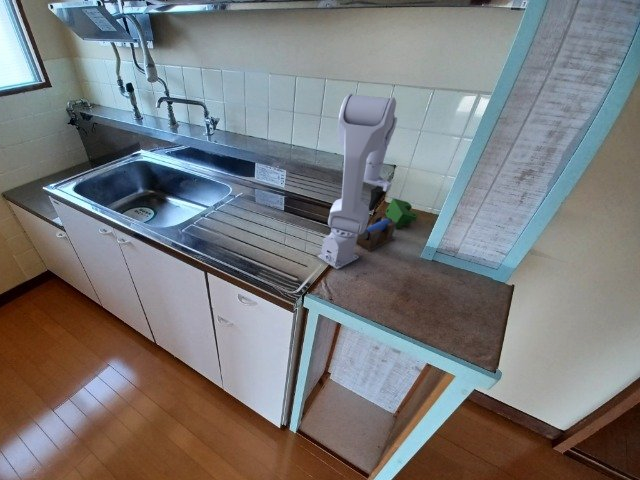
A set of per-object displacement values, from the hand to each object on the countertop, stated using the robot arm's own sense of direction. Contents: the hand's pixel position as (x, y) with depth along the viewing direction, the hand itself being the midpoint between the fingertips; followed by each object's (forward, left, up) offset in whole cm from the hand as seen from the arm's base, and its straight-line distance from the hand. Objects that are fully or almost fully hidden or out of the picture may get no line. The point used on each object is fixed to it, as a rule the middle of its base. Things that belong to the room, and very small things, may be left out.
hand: (361, 205), depth 101 cm
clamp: (+17, -5, -10) cm, 20 cm away
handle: (0, -7, -6) cm, 9 cm away
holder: (0, -7, -9) cm, 12 cm away
